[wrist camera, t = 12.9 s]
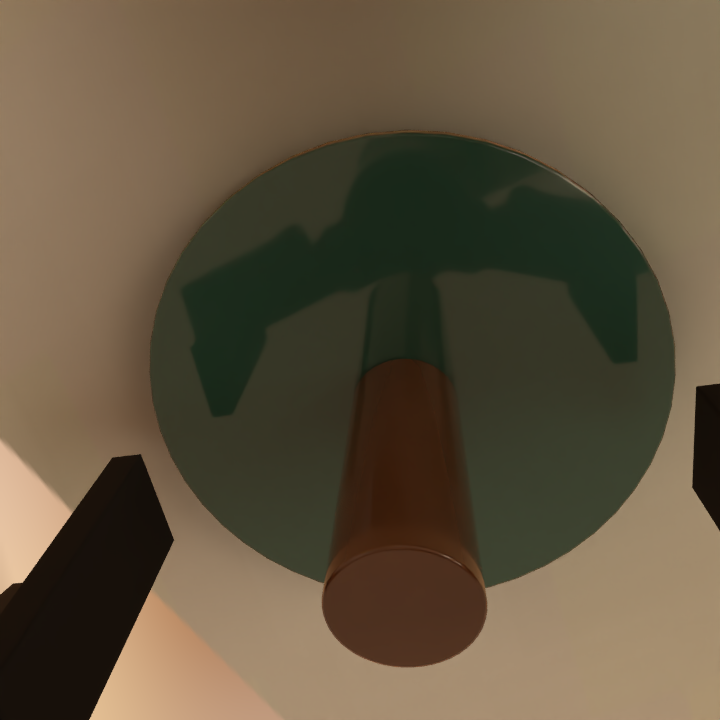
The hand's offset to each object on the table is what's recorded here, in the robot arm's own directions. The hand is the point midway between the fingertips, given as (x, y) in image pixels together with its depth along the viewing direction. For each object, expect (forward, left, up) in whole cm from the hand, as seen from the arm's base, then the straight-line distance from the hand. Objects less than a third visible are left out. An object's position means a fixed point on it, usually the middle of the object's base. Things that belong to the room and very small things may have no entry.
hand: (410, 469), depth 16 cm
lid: (0, 0, -4) cm, 4 cm away
